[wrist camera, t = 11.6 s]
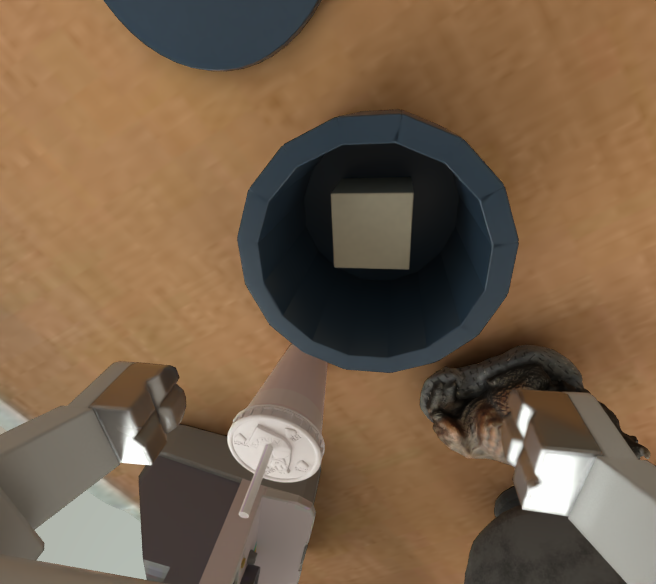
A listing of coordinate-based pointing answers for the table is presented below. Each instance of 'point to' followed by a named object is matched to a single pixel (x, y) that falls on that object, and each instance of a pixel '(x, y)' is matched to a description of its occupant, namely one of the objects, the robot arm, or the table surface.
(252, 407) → the smoothie
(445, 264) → the canister
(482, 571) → the pitcher
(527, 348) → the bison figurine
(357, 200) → the block
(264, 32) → the lid
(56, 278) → the table surface
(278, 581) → the instant camera
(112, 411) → the robot arm
